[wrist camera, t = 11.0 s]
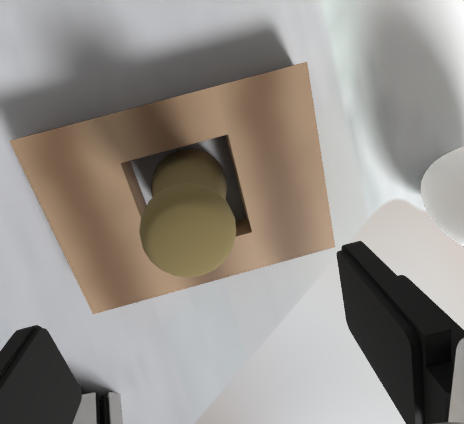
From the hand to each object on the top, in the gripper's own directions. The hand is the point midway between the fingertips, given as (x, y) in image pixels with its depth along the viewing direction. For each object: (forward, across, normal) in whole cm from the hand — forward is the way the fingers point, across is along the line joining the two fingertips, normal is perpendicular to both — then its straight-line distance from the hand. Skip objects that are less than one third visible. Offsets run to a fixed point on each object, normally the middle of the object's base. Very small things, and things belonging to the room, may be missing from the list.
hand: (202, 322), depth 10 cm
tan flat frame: (+18, +1, +1) cm, 18 cm away
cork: (+18, +1, 0) cm, 18 cm away
